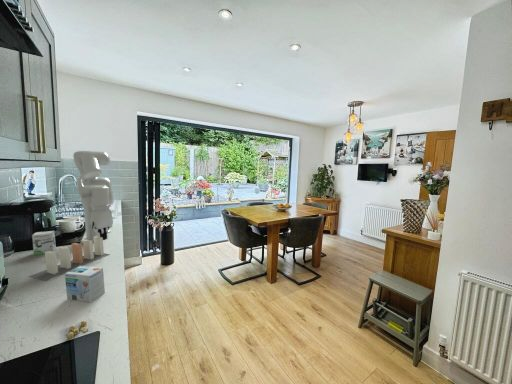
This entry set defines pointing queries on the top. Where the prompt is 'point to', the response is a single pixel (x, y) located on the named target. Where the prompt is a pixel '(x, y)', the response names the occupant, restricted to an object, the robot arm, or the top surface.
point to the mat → (47, 276)
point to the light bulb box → (84, 283)
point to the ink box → (43, 242)
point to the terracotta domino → (77, 253)
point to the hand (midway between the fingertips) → (103, 239)
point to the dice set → (76, 330)
